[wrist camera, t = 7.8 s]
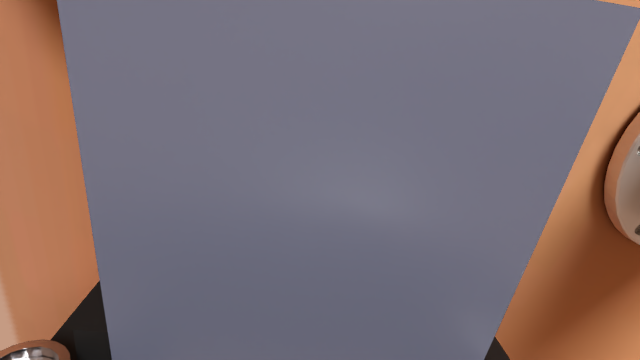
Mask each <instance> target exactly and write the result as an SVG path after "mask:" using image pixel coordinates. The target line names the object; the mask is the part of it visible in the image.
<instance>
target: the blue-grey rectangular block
mask: <svg viewBox="0 0 640 360" xmlns="http://www.w3.org/2000/svg"><path fill="white" fill-rule="evenodd" d="M57 5H58V12H59V18H60V25H61V31H62V38H63V44H64V51H65V57H66V64H67V70H68V77H69V83H70V90H71V96H72V103H73V109H74V116H75V122H76V129H77V135H78V142H79V148H80V155H81V161H82V168H83V174H84V181H85V187H86V194H87V200H88V207H89V213H90V220H91V226H92V233H93V239H94V246H95V252H96V259H97V265H98V272H99V278H100V285H101V291H102V298H103V304H104V311H105V317H106V324H107V331H108V337H109V344H110V350H111V357H112V360H484V358H485V356H486V354H487V352H488V350H489V347H490V345H491V343H492V341H493V339H494V336H495V334H496V332H497V330H498V328H499V326H500V323H501V321H502V319H503V317H504V315H505V312H506V310H507V308H508V306H509V304H510V301H511V299H512V297H513V295H514V293H515V290H516V288H517V286H518V284H519V282H520V280H521V277H522V275H523V273H524V271H525V269H526V266H527V264H528V262H529V260H530V258H531V255H532V253H533V251H534V249H535V247H536V245H537V242H538V240H539V238H540V236H541V234H542V231H543V229H544V227H545V225H546V223H547V220H548V218H549V216H550V214H551V212H552V209H553V207H554V205H555V203H556V201H557V199H558V196H559V194H560V192H561V190H562V188H563V185H564V183H565V181H566V179H567V177H568V174H569V172H570V170H571V168H572V166H573V163H574V161H575V159H576V157H577V155H578V153H579V150H580V148H581V146H582V144H583V142H584V139H585V137H586V135H587V133H588V131H589V128H590V126H591V124H592V122H593V120H594V117H595V115H596V113H597V111H598V109H599V107H600V104H601V102H602V100H603V98H604V96H605V93H606V91H607V89H608V87H609V85H610V82H611V80H612V78H613V76H614V74H615V72H616V69H617V67H618V65H619V63H620V61H621V58H622V56H623V54H624V52H625V50H626V47H627V45H628V43H629V41H630V39H631V36H632V34H633V32H634V30H635V28H636V26H637V23H638V21H639V19H640V8H637V7H631V6H625V5H619V4H614V3H608V2H602V1H596V0H57Z"/></svg>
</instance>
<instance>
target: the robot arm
mask: <svg viewBox="0 0 640 360" xmlns="http://www.w3.org/2000/svg"><path fill="white" fill-rule="evenodd" d="M604 202H605V205H606V209H607V213H608V216H609V218H610V219H611V221H612V223H613V224H614V226H615V228H616V229H618V230H619V231H620V232H621V233H622V234H623V235H624V236H625V237H627V238H628V239H630V240H632V241H634V242H635V243H637V244H638V245H640V112H639V113H638V114H637V116H636V117H635V118H634V119H633V121H632V122H631V123H630V125H629V126H628V127H627V129H626V130H625V132H624V134H623V135H622V137H621V139H620V140H619V142H618V144H617V146H616V147H615V150H614V152H613V155H612V157H611V160H610V162H609V165H608V169H607V174H606V179H605V184H604ZM0 360H112V357H111V350H110V344H109V337H108V331H107V324H106V317H105V311H104V304H103V298H102V291H101V285H100V281H99V282H98V283H97V284H96V286H95V287H94V288H93V289H92V290H91V292H90V293H89V294H88V295H87V296H86V298H85V299H84V300H83V301H82V303H81V304H80V305H79V306H78V307H77V309H76V310H75V311H74V312H73V313H72V315H71V316H70V317H69V318H68V320H67V321H66V322H65V323H64V324H63V326H62V327H61V328H60V329H59V330H58V332H57V333H56V334H55V335H54V336H53V338H52V339H51V340H34V341H27V342H23V343H20V344H16V345H13V346H11V347H8V348H6V349H4V350H2V351H0ZM484 360H510V359H509V357H508V356H507V354H506V353H505V351H504V350H503V348H502V347H501V345H500V344H499V342H498V341H497V339H496V338H495V336H494V339H493V341H492V343H491V345H490V347H489V350H488V352H487V354H486V356H485V358H484Z"/></svg>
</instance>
